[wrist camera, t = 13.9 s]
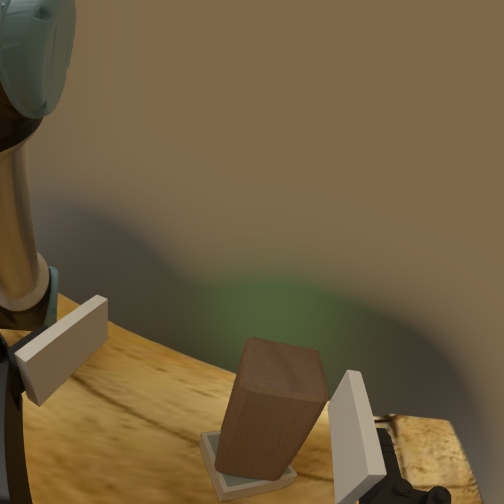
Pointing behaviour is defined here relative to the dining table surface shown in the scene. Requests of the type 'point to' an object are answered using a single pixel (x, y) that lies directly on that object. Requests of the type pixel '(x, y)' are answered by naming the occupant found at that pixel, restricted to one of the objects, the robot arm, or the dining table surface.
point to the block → (270, 409)
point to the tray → (236, 485)
